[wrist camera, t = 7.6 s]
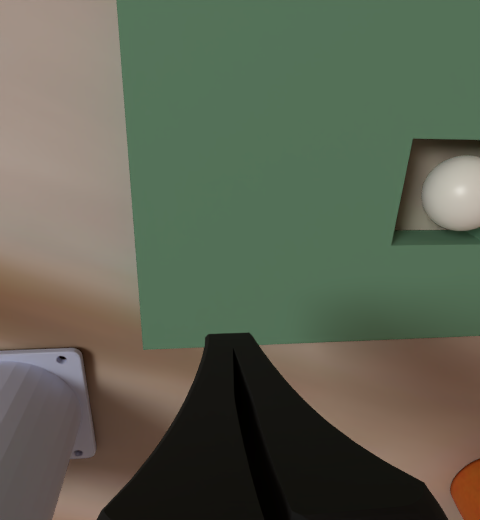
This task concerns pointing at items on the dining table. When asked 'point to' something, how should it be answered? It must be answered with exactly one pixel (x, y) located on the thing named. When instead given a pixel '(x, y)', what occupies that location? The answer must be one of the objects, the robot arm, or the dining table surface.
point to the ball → (454, 193)
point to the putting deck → (295, 167)
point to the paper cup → (467, 491)
